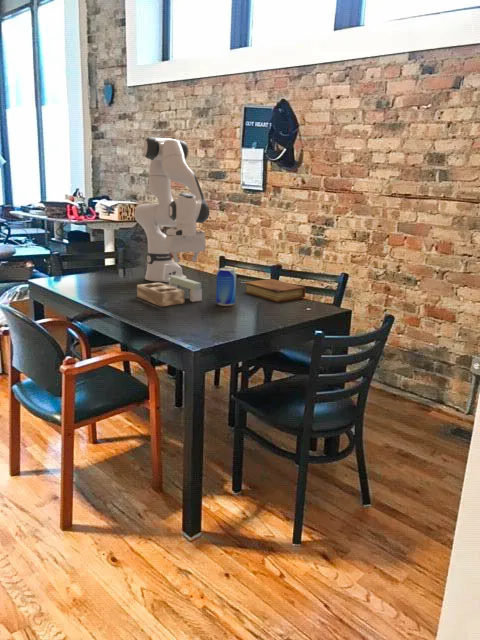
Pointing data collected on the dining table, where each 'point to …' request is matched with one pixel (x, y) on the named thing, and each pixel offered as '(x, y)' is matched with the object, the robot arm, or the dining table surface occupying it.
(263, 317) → the dining table surface
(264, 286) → the diary
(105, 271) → the dining table surface
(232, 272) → the beer can
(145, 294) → the wooden compartment box
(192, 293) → the stand
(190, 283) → the grey bridge block
